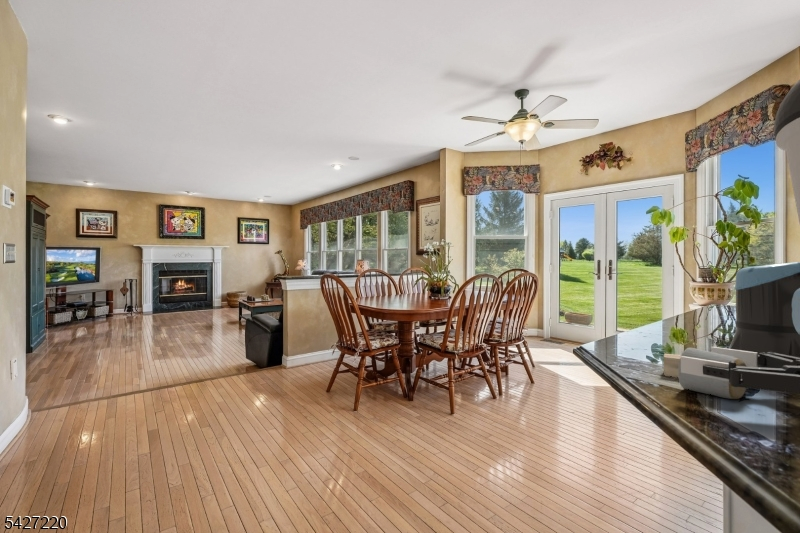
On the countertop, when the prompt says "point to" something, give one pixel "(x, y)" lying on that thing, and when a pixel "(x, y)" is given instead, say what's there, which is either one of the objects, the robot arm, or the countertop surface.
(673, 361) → the birch block
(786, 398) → the countertop surface
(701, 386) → the ceramic mug
